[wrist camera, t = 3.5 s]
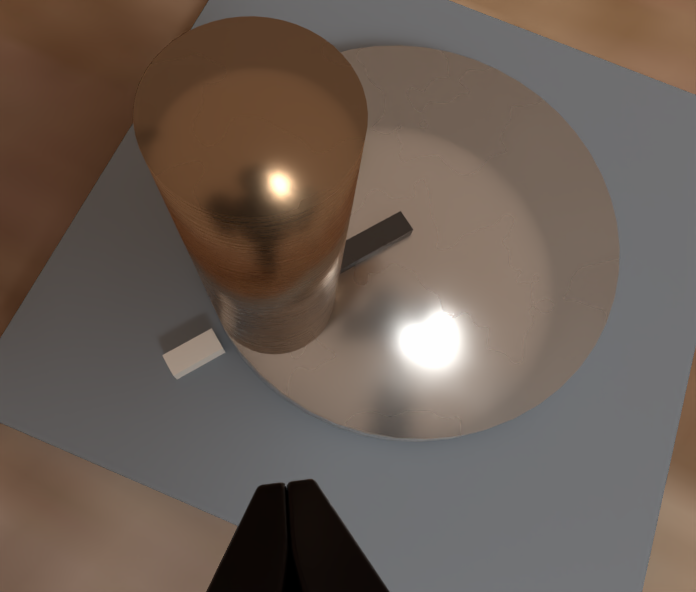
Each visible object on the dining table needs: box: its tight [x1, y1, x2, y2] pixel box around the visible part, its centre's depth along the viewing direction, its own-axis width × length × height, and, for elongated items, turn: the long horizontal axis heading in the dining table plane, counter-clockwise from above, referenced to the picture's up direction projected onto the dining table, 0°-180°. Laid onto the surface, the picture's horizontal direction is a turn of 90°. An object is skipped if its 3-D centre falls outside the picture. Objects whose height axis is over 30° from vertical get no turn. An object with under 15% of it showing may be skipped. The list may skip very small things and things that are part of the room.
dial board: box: [0, 0, 696, 592], centre depth 20 cm, size 20×20×2 cm
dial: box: [133, 16, 620, 442], centre depth 15 cm, size 13×13×10 cm
